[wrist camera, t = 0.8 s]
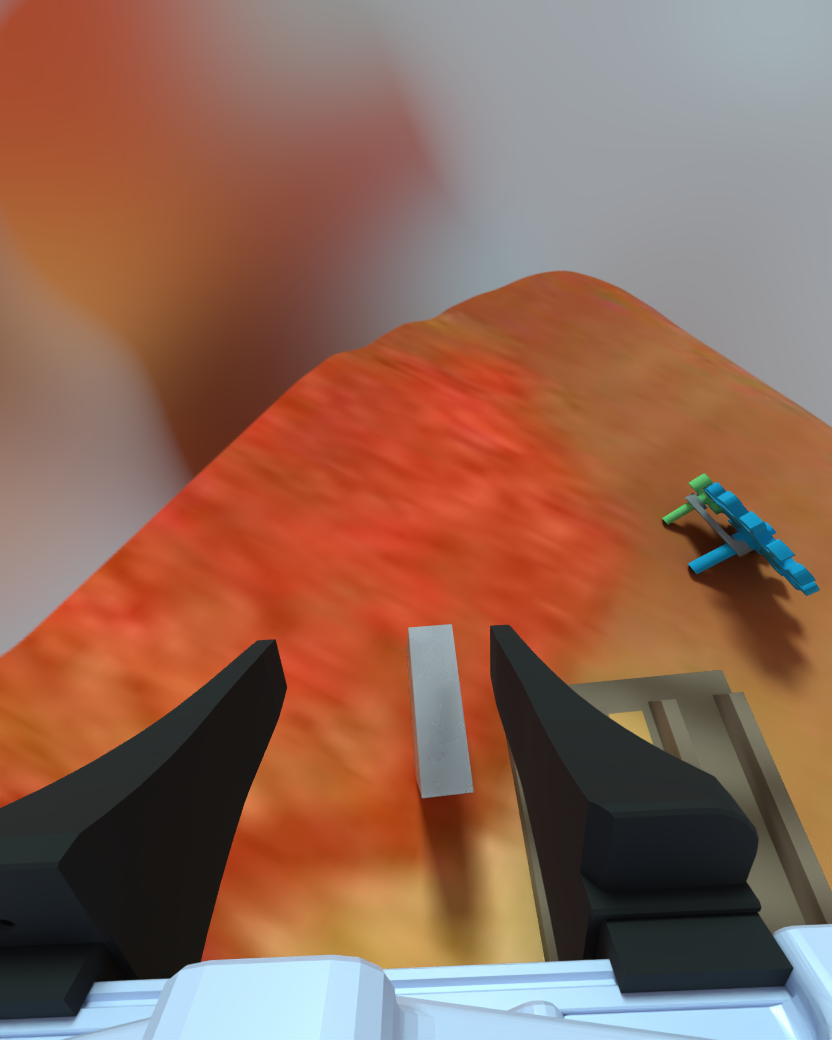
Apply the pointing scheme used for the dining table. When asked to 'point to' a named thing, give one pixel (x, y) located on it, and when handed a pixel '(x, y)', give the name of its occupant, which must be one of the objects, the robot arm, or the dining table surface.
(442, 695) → the panel
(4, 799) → the dining table surface
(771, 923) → the slot rack
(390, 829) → the dining table surface
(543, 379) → the dining table surface
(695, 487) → the gear
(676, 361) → the dining table surface
